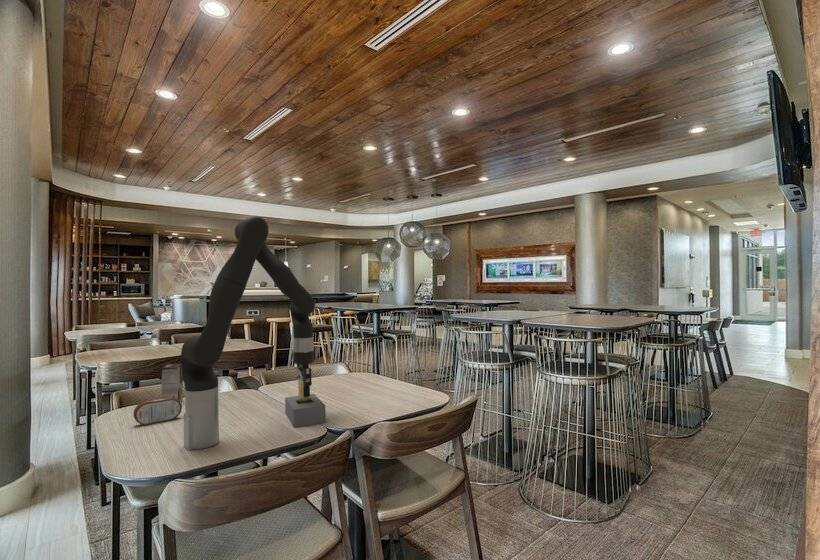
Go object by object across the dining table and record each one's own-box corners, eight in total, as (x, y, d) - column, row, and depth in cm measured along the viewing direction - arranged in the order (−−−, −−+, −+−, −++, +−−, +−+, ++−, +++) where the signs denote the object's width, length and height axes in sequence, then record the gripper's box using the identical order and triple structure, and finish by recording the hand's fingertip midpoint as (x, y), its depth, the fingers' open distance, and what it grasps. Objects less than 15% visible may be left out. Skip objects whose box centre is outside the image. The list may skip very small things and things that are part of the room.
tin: (181, 416, 158) (180, 394, 158) (182, 418, 156) (182, 396, 156) (133, 425, 149) (133, 402, 149) (134, 428, 146) (134, 403, 146)
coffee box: (166, 401, 180) (166, 364, 180) (183, 400, 181) (182, 362, 182) (160, 407, 171) (160, 367, 171) (178, 405, 173) (178, 366, 173)
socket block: (325, 422, 148) (325, 405, 148) (293, 427, 143) (293, 409, 143) (314, 409, 164) (314, 393, 164) (285, 413, 159) (285, 397, 159)
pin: (301, 414, 151) (301, 381, 151) (297, 412, 154) (296, 379, 154) (312, 412, 153) (311, 379, 153) (307, 409, 156) (306, 377, 156)
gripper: (289, 348, 159) (290, 391, 158) (296, 353, 146) (297, 400, 145) (309, 346, 162) (310, 388, 162) (318, 351, 149) (319, 397, 149)
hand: (304, 394), depth 154 cm, fingers open, 8 cm apart
